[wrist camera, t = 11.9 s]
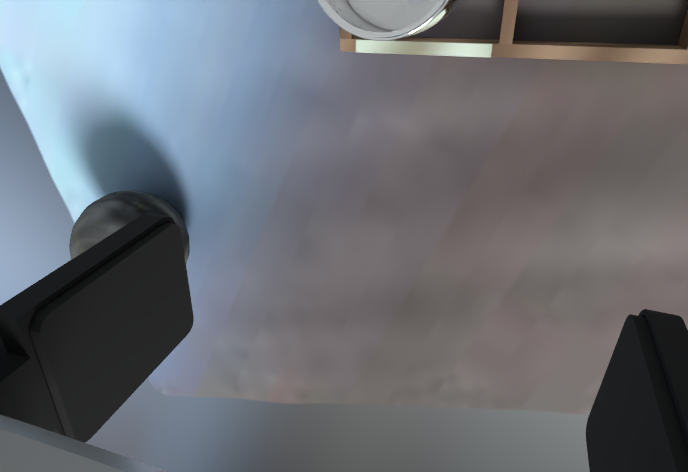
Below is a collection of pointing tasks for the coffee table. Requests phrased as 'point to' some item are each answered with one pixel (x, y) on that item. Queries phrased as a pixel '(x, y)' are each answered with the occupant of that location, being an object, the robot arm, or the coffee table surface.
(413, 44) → the coaster frame
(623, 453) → the robot arm
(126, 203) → the decorative stone
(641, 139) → the coffee table surface
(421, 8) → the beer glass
